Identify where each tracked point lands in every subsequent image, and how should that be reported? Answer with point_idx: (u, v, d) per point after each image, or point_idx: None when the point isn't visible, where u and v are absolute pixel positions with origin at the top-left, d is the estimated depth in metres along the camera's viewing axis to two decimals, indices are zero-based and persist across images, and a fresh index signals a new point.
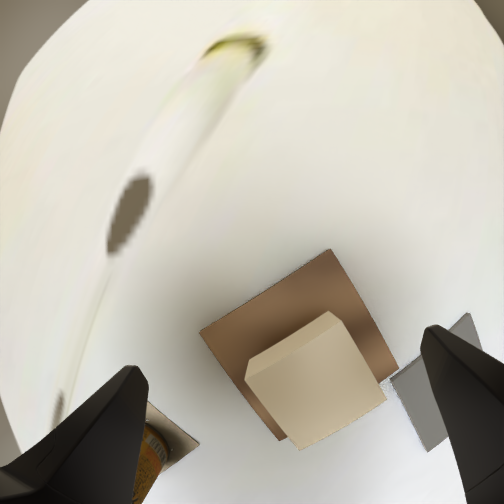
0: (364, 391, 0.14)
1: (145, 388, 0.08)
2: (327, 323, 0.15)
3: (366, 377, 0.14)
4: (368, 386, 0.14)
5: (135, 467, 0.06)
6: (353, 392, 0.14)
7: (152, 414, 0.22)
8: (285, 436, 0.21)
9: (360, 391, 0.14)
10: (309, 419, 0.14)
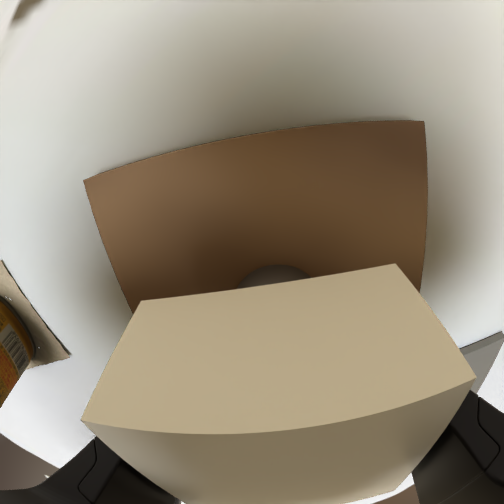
0: (374, 487, 0.05)
1: None
2: (416, 343, 0.04)
3: (399, 473, 0.04)
4: (387, 481, 0.05)
5: None
6: (355, 488, 0.05)
7: (14, 294, 0.12)
8: None
9: (368, 487, 0.05)
10: (237, 501, 0.05)
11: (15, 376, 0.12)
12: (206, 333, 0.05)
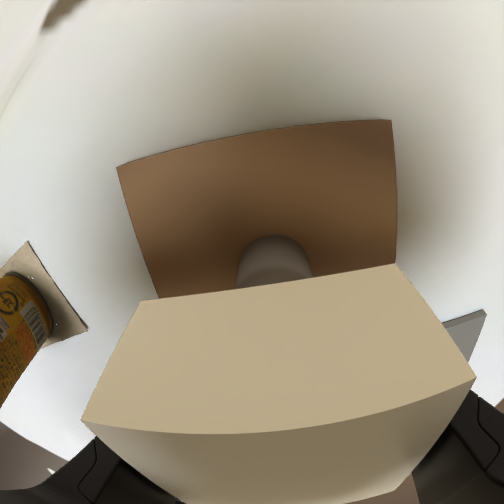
0: (374, 486, 0.05)
1: None
2: (416, 342, 0.04)
3: (399, 473, 0.04)
4: (388, 481, 0.05)
5: None
6: (355, 488, 0.05)
7: (37, 273, 0.15)
8: None
9: (368, 487, 0.05)
10: (237, 501, 0.05)
11: (34, 349, 0.14)
12: (206, 333, 0.05)
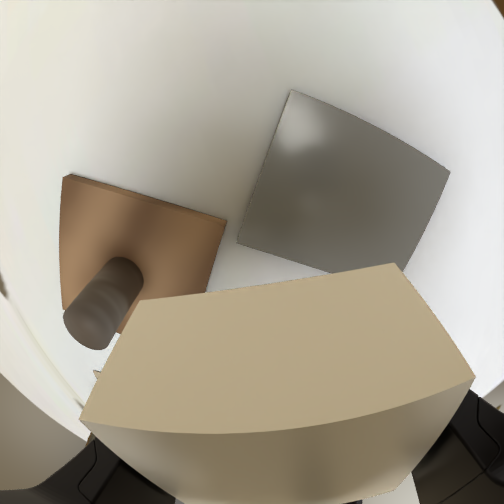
0: (374, 487, 0.05)
1: None
2: (414, 342, 0.04)
3: (398, 473, 0.04)
4: (387, 481, 0.05)
5: None
6: (354, 489, 0.05)
7: None
8: None
9: (367, 487, 0.05)
10: (236, 502, 0.05)
11: None
12: (204, 333, 0.05)
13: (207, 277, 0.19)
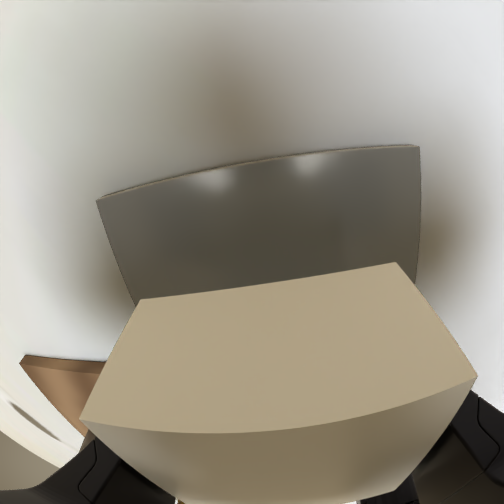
0: (375, 486, 0.05)
1: None
2: (416, 342, 0.04)
3: (399, 473, 0.04)
4: (388, 481, 0.05)
5: None
6: (355, 488, 0.05)
7: None
8: None
9: (369, 487, 0.05)
10: (236, 501, 0.05)
11: None
12: (205, 332, 0.05)
13: None
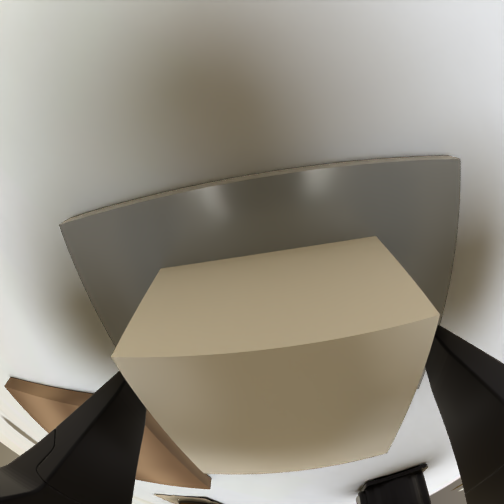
0: (367, 442, 0.06)
1: None
2: (388, 289, 0.05)
3: (388, 426, 0.06)
4: (379, 437, 0.06)
5: (135, 467, 0.06)
6: (349, 441, 0.06)
7: (172, 497, 0.21)
8: (205, 486, 0.16)
9: (361, 441, 0.06)
10: (241, 454, 0.06)
11: None
12: (218, 287, 0.06)
13: (165, 449, 0.12)
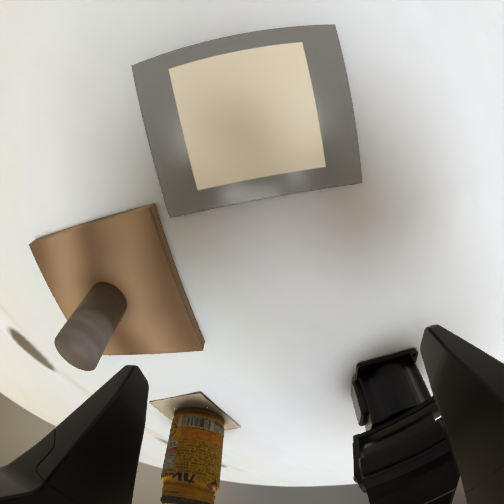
0: (301, 138, 0.12)
1: (145, 388, 0.08)
2: None
3: (309, 120, 0.11)
4: (308, 134, 0.12)
5: (135, 467, 0.06)
6: (287, 131, 0.12)
7: (167, 403, 0.27)
8: (198, 344, 0.22)
9: (296, 134, 0.12)
10: (223, 145, 0.12)
11: (203, 431, 0.25)
12: None
13: (165, 262, 0.18)
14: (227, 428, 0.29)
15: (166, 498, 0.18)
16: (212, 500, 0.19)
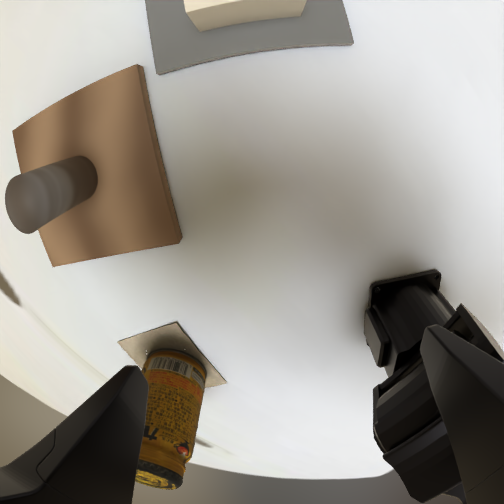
0: None
1: (145, 388, 0.08)
2: None
3: None
4: None
5: (135, 468, 0.06)
6: None
7: (138, 343, 0.24)
8: (173, 233, 0.18)
9: None
10: None
11: (177, 376, 0.21)
12: None
13: (144, 120, 0.15)
14: (210, 384, 0.26)
15: None
16: (180, 470, 0.15)
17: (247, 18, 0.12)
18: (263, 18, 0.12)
